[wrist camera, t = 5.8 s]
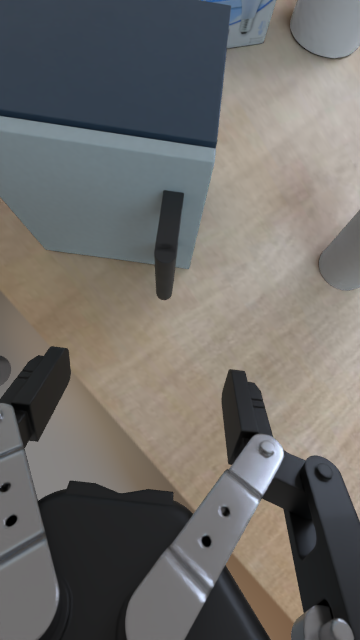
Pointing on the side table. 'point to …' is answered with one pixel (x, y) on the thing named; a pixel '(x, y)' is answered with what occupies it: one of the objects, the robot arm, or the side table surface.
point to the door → (106, 193)
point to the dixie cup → (343, 257)
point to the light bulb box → (247, 21)
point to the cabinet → (116, 66)
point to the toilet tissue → (327, 26)
